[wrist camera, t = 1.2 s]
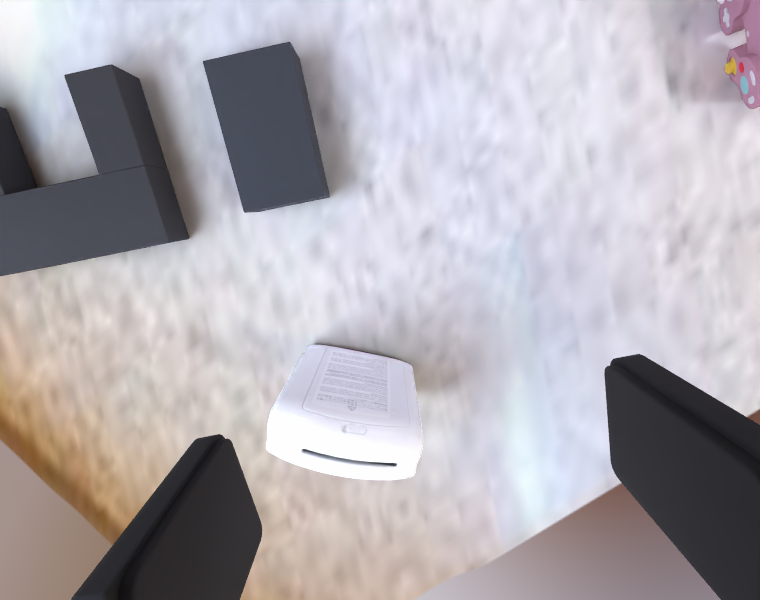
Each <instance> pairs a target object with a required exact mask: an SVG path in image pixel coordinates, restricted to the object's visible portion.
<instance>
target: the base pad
mask: <svg viewBox="0 0 760 600" xmlns="http://www.w3.org/2000/svg"><path fill="white" fill-rule="evenodd" d="M65 79H66V82H67V84H68V87H69V90H70V93H71V96H72V98H73V101H74V104H75V107H76V110H77V112H78V115H79V118H80V121H81V124H82V127H83V129H84V132H85V135H86V138H87V141H88V143H89V146H90V149H91V152H92V155H93V157H94V160H95V163H96V166H97V169H98V172H99V174H100V175H97V176H92V177H87V178H83V179H78V180H73V181H68V182H64V183H59V184H54V185H50V186H45V187H40V188H37V185H36V183H35V180H34V178H33V175H32V172H31V170H30V167H29V165H28V162H27V160H26V157H25V155H24V152H23V150H22V147H21V145H20V142H19V140H18V137H17V135H16V132H15V130H14V127H13V125H12V122H11V120H10V117H9V115H8V112H7V109H6V108H2V107H0V276H4V275H9V274H15V273H20V272H26V271H31V270H36V269H41V268H46V267H51V266H56V265H61V264H66V263H71V262H76V261H81V260H86V259H91V258H96V257H101V256H106V255H111V254H116V253H121V252H126V251H131V250H135V249H140V248H145V247H150V246H155V245H160V244H165V243H170V242H175V241H180V240H185V239H189V236H188V233H187V230H186V226H185V223H184V220H183V217H182V214H181V211H180V207H179V204H178V201H177V198H176V195H175V191H174V188H173V185H172V182H171V179H170V175H169V172H168V169H167V166H166V163H165V160H164V157H163V153H162V150H161V147H160V144H159V141H158V137H157V134H156V131H155V128H154V125H153V121H152V118H151V115H150V112H149V109H148V106H147V102H146V99H145V96H144V93H143V90H142V86H141V83H140V80H139V78H137V77H135V76H133V75H131V74H129V73H127V72H125V71H123V70H121V69H119V68H117V67H116V66H114V65H107V66H102V67H98V68H93V69H89V70H85V71H80V72H76V73H71V74H67V75H65Z"/></svg>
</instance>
